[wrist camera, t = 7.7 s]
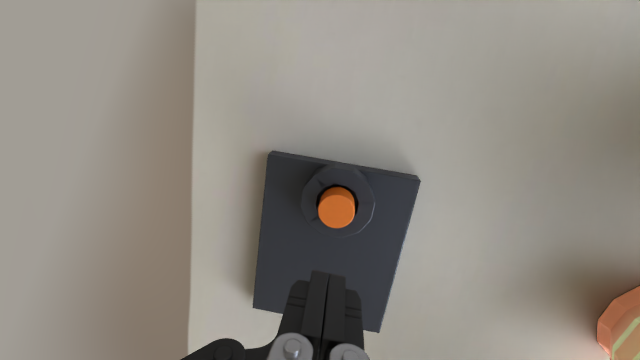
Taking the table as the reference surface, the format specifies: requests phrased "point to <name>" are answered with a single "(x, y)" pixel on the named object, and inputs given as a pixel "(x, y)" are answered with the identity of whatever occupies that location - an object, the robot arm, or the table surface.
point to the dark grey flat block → (331, 231)
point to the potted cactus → (621, 327)
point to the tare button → (336, 207)
